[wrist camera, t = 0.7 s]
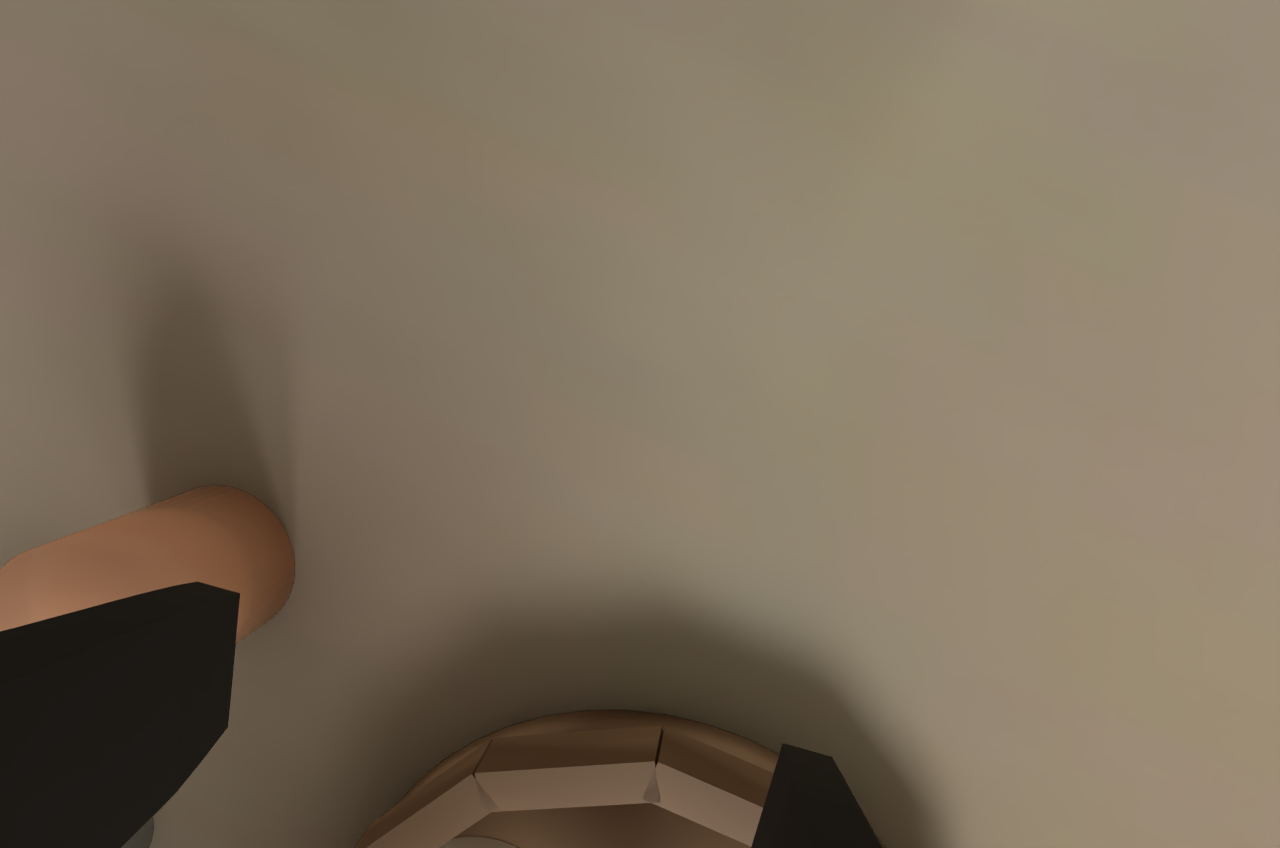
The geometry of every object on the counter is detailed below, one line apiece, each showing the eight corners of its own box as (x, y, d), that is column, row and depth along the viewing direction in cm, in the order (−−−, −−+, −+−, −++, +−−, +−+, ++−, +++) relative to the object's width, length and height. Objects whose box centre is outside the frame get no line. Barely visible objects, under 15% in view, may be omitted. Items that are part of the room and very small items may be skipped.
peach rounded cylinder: (173, 637, 22) (10, 737, 17) (138, 494, 22) (-41, 556, 17) (309, 624, 22) (180, 723, 17) (276, 477, 21) (133, 535, 16)
